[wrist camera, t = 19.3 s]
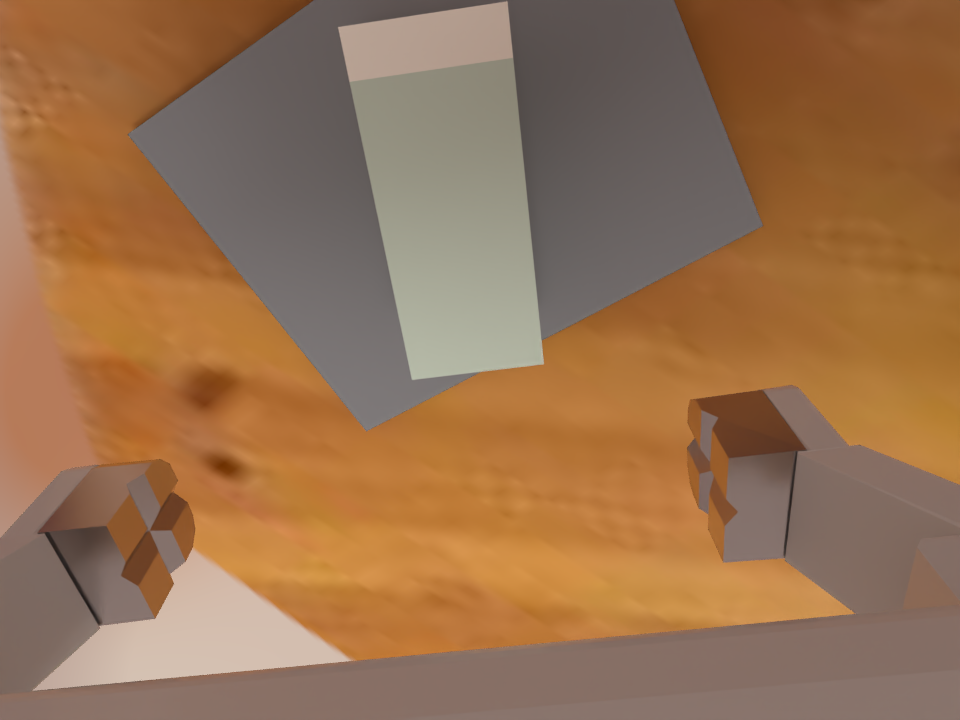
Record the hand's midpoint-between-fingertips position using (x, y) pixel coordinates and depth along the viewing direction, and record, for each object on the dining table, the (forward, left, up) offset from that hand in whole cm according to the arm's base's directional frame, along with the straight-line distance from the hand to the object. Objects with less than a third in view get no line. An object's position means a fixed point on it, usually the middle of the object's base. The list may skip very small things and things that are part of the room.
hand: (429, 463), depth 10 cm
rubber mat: (0, 0, -19) cm, 19 cm away
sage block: (+2, +5, -16) cm, 17 cm away
